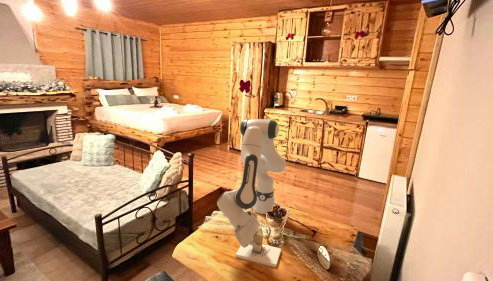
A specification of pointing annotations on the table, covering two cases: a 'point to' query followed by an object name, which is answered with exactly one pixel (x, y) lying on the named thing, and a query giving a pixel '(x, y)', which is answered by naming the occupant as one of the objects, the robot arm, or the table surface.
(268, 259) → the board
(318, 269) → the table surface
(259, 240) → the block
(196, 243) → the table surface
